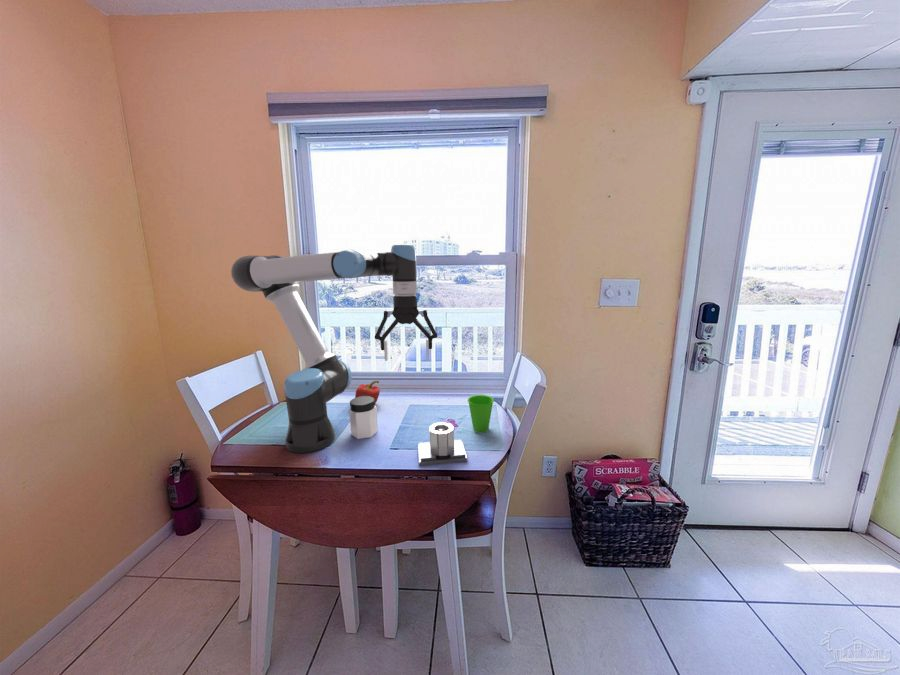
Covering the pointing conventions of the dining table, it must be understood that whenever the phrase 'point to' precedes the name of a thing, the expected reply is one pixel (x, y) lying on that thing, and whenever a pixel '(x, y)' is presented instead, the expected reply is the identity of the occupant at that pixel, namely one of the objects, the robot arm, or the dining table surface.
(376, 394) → the vegetable
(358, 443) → the dining table surface
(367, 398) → the jar
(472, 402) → the cup
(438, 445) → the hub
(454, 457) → the shaft block
